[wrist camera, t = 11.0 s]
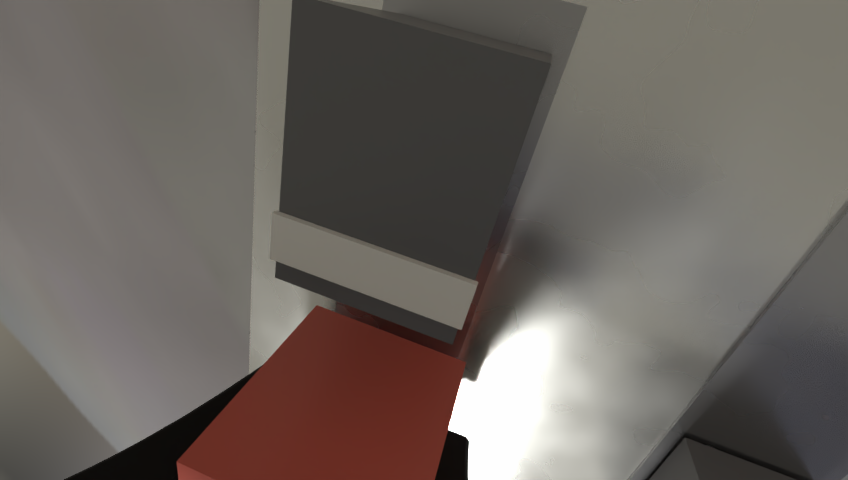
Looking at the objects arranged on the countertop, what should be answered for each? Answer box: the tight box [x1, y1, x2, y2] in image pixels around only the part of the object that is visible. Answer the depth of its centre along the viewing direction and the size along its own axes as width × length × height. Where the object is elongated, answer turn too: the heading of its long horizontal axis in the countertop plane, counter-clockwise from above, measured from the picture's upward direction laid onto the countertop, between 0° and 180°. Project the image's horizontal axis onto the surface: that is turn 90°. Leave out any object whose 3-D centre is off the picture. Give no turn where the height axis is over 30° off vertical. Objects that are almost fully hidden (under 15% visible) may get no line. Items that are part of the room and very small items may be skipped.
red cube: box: [177, 305, 466, 480], centre depth 9 cm, size 4×4×4 cm
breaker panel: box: [249, 0, 848, 480], centre depth 9 cm, size 18×24×2 cm
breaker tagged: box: [270, 0, 552, 345], centre depth 7 cm, size 3×4×4 cm
